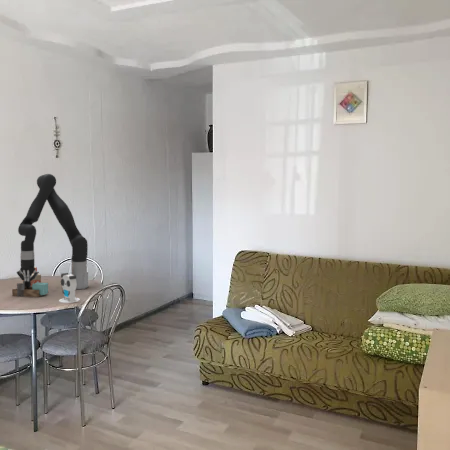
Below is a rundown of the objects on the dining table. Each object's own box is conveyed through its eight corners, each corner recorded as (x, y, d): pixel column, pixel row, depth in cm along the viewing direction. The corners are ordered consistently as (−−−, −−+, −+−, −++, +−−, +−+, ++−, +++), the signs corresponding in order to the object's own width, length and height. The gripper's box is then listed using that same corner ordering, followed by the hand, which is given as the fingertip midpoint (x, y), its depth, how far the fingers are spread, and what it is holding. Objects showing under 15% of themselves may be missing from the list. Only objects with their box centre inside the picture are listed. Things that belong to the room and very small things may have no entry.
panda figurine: (55, 299, 273) (54, 273, 271) (73, 296, 281) (73, 271, 279) (64, 304, 264) (64, 277, 263) (83, 300, 272) (83, 274, 271)
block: (48, 292, 284) (48, 282, 284) (44, 295, 279) (43, 284, 279) (36, 292, 285) (36, 282, 284) (32, 294, 280) (32, 284, 279)
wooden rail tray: (45, 293, 286) (44, 281, 285) (38, 297, 278) (38, 284, 277) (19, 292, 288) (19, 280, 287) (12, 296, 279) (12, 283, 279)
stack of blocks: (41, 289, 298) (40, 269, 296) (30, 290, 294) (30, 270, 293) (32, 282, 315) (32, 264, 314) (22, 283, 311) (22, 265, 310)
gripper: (41, 257, 284) (41, 286, 285) (19, 256, 284) (20, 285, 286) (35, 259, 276) (35, 289, 278) (13, 258, 277) (13, 288, 279)
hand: (27, 287), depth 282 cm, fingers closed
